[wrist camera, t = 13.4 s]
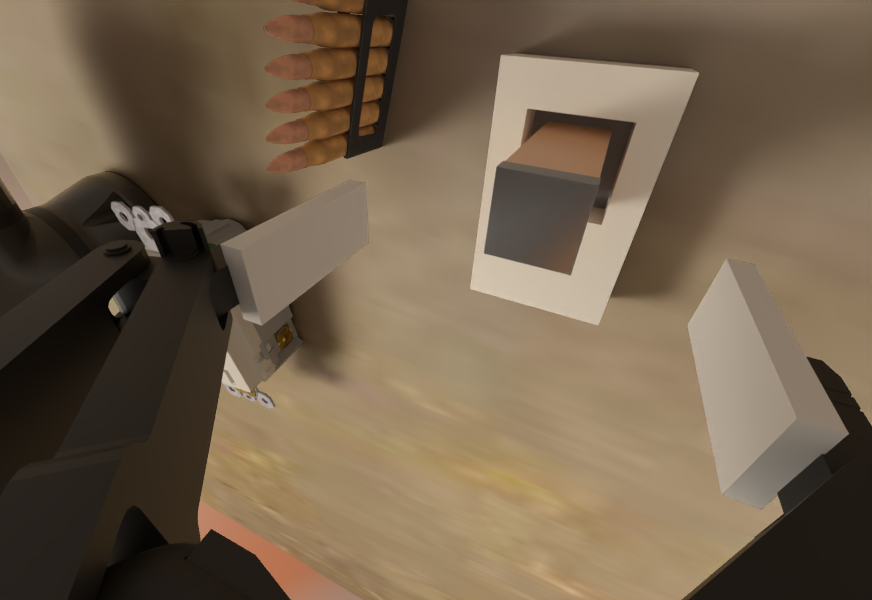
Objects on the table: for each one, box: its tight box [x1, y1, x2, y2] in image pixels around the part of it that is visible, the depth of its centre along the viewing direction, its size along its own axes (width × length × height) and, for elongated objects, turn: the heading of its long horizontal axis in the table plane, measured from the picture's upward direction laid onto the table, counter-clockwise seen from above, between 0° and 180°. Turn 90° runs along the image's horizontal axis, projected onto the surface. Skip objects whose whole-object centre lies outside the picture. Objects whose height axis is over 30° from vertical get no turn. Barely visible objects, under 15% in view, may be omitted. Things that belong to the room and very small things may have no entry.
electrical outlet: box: [111, 201, 303, 409], centre depth 46 cm, size 12×28×10 cm, turn 4°
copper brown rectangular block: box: [484, 121, 612, 275], centre depth 21 cm, size 4×4×12 cm
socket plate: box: [470, 53, 699, 325], centre depth 26 cm, size 10×16×4 cm, turn 176°
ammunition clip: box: [264, 0, 408, 173], centre depth 24 cm, size 11×2×12 cm, turn 163°
